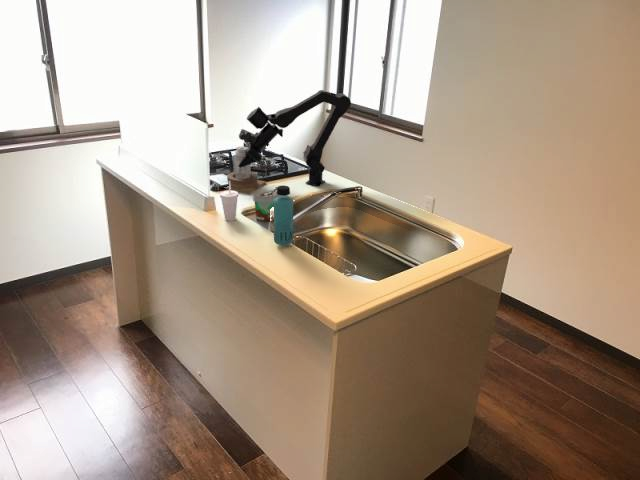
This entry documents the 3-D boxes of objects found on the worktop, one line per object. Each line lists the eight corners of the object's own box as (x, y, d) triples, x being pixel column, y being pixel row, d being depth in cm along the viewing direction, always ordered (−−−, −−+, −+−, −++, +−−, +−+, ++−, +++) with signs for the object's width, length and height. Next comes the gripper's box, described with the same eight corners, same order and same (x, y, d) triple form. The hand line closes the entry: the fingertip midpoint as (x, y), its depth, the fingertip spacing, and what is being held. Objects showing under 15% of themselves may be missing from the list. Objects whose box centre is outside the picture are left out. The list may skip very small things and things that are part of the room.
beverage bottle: (278, 251, 167) (277, 191, 158) (270, 242, 172) (269, 184, 164) (296, 247, 170) (297, 188, 161) (288, 239, 175) (288, 182, 166)
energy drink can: (253, 183, 220) (253, 148, 213) (243, 187, 215) (243, 151, 209) (242, 180, 223) (242, 145, 217) (232, 183, 218) (232, 148, 212)
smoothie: (242, 217, 190) (241, 180, 184) (232, 223, 185) (231, 185, 179) (227, 214, 193) (226, 177, 187) (217, 220, 188) (215, 182, 181)
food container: (266, 226, 184) (266, 199, 180) (253, 221, 187) (252, 195, 183) (289, 215, 193) (289, 190, 189) (276, 211, 196) (276, 186, 192)
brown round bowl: (237, 178, 228) (236, 168, 226) (265, 183, 223) (265, 173, 221) (218, 188, 216) (218, 177, 214) (248, 194, 211) (248, 183, 209)
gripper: (248, 117, 217) (222, 144, 220) (252, 128, 201) (224, 157, 203) (268, 135, 222) (242, 162, 225) (273, 148, 206) (245, 176, 208)
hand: (238, 164), depth 215 cm, fingers open, 7 cm apart
